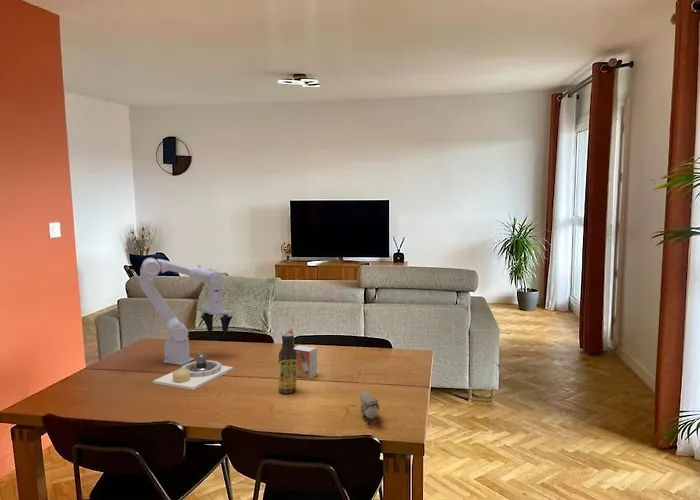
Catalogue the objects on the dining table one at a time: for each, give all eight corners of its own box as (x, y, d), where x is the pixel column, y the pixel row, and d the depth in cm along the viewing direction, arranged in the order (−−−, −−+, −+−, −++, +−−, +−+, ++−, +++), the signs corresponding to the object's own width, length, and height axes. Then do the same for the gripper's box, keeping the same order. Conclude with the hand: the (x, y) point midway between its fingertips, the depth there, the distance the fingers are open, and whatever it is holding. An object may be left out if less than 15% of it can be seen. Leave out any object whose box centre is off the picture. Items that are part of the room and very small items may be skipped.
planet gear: (183, 372, 202) (182, 357, 201) (199, 364, 210) (199, 349, 210) (203, 375, 198) (203, 360, 197) (219, 367, 206) (219, 352, 206)
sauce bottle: (279, 395, 181) (278, 337, 178) (277, 388, 187) (275, 333, 184) (298, 393, 182) (297, 336, 180) (295, 386, 188) (294, 331, 186)
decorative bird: (373, 406, 171) (373, 383, 170) (383, 428, 155) (383, 403, 155) (356, 407, 170) (356, 384, 170) (365, 429, 155) (364, 404, 154)
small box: (291, 376, 199) (290, 348, 198) (299, 371, 204) (299, 344, 203) (309, 379, 196) (309, 351, 194) (317, 374, 201) (317, 347, 199)
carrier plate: (153, 383, 193) (152, 372, 193) (195, 364, 214) (195, 354, 214) (193, 390, 186) (193, 379, 186) (232, 369, 207) (232, 359, 207)
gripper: (236, 299, 222) (237, 331, 224) (208, 296, 228) (209, 328, 229) (225, 302, 216) (227, 335, 217) (197, 300, 221) (198, 332, 223)
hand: (217, 331), depth 223 cm, fingers open, 7 cm apart
